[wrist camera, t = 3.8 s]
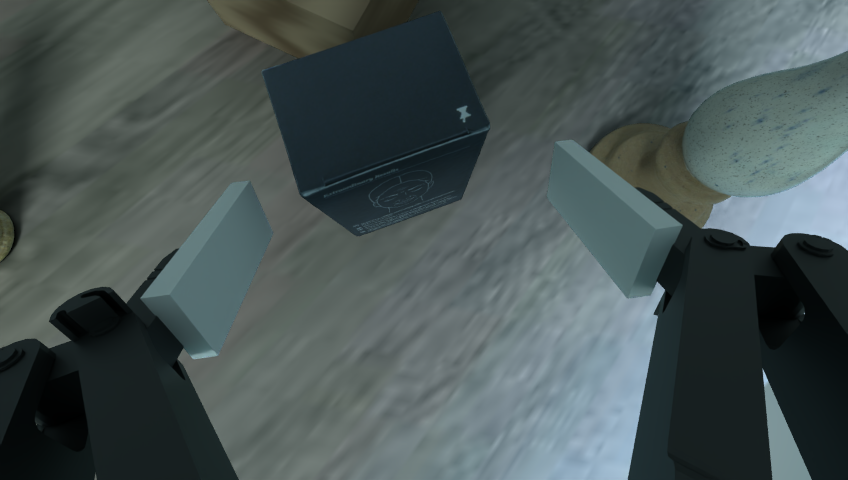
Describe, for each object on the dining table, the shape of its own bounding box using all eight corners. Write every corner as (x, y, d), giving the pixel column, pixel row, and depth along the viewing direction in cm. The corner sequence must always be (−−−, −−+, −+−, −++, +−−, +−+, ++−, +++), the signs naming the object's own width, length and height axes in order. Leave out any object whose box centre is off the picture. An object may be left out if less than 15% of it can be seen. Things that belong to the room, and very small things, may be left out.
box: (434, 128, 24) (444, 3, 13) (462, 200, 23) (496, 129, 13) (329, 164, 23) (254, 65, 13) (354, 239, 23) (297, 199, 12)
